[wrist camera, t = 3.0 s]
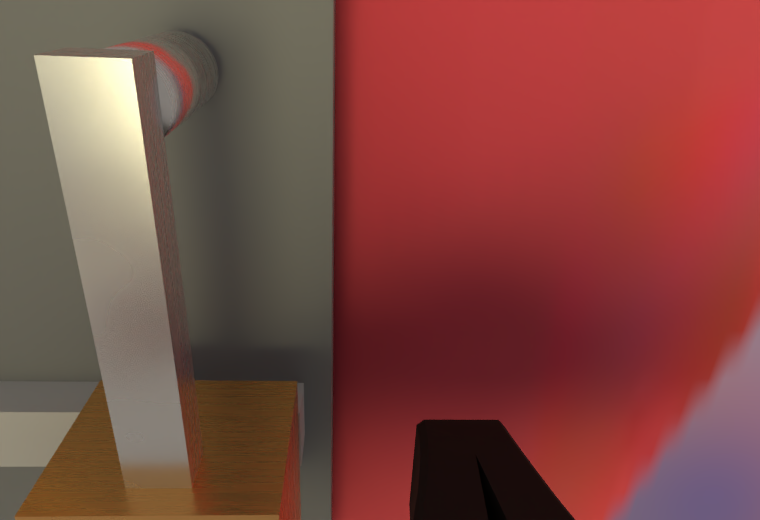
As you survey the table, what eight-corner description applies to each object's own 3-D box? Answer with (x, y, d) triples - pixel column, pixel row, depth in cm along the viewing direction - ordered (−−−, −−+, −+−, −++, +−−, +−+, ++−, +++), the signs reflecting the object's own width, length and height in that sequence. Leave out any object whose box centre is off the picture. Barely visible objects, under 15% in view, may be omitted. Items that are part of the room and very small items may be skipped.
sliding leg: (143, 485, 11) (66, 670, 8) (54, 25, 7) (-143, 55, 4) (303, 484, 11) (286, 665, 8) (293, 34, 7) (256, 70, 5)
